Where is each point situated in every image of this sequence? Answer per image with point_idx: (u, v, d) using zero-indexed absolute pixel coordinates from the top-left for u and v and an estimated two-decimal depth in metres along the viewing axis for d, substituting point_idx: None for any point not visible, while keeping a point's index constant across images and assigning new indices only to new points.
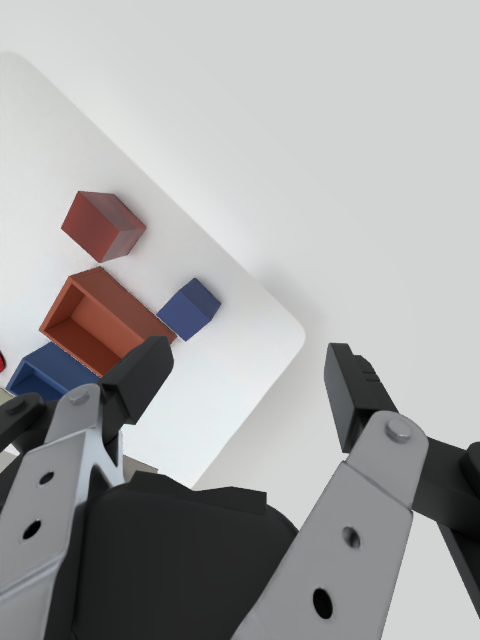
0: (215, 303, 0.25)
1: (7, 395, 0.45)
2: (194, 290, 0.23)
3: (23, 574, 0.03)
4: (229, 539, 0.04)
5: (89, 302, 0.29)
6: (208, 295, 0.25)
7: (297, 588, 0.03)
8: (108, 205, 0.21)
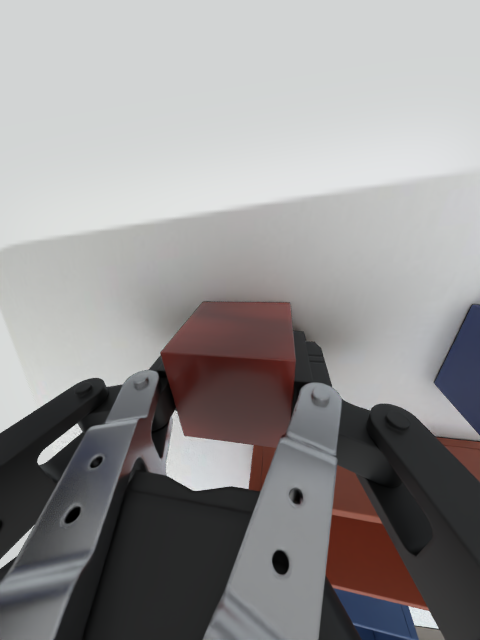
0: None
1: None
2: None
3: (53, 565, 0.03)
4: (229, 539, 0.04)
5: None
6: None
7: (297, 588, 0.03)
8: (218, 325, 0.09)
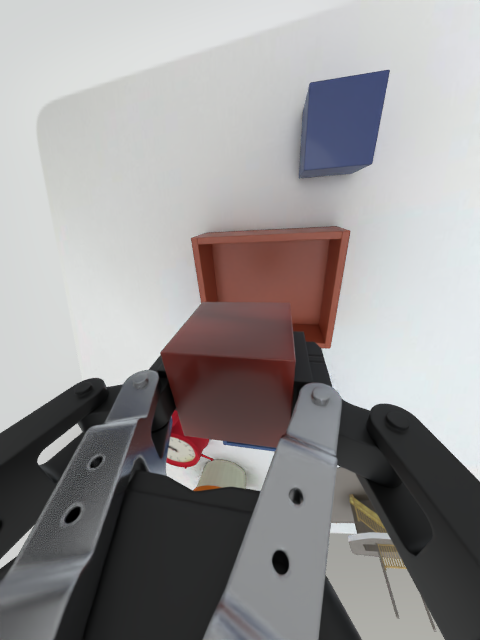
0: None
1: (228, 462, 0.42)
2: None
3: (53, 565, 0.03)
4: (229, 539, 0.04)
5: (224, 285, 0.24)
6: None
7: (297, 588, 0.03)
8: (218, 325, 0.09)
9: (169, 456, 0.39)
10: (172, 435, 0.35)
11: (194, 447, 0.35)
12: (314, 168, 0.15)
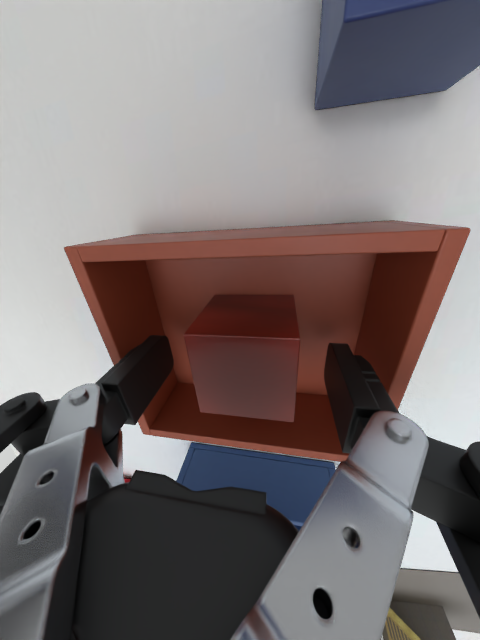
0: None
1: None
2: None
3: (23, 574, 0.03)
4: (229, 539, 0.04)
5: (176, 327, 0.14)
6: None
7: (297, 588, 0.03)
8: (231, 313, 0.10)
9: None
10: None
11: None
12: (382, 8, 0.04)
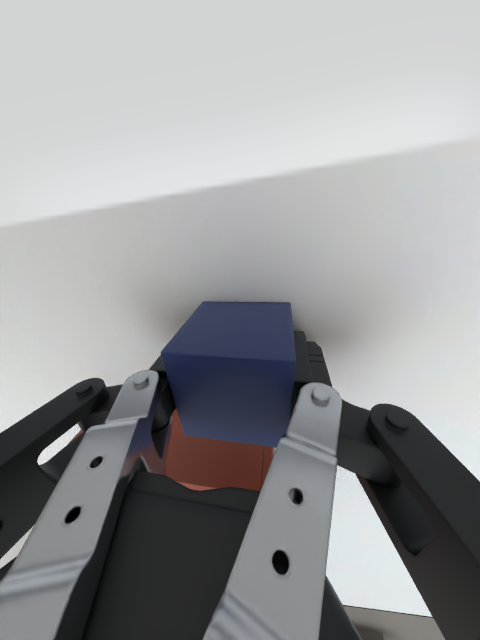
0: (276, 310, 0.09)
1: None
2: (207, 324, 0.09)
3: (53, 565, 0.03)
4: (229, 539, 0.04)
5: None
6: (250, 309, 0.10)
7: (297, 588, 0.03)
8: None
9: None
10: None
11: None
12: (199, 436, 0.09)
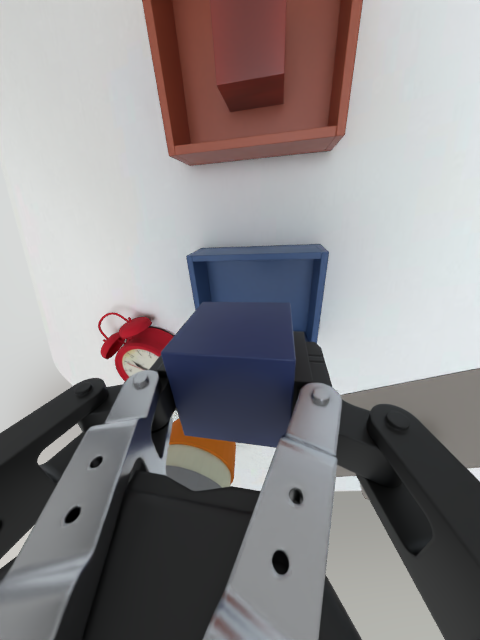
0: (276, 310, 0.09)
1: None
2: (207, 324, 0.09)
3: (53, 565, 0.03)
4: (229, 539, 0.04)
5: (193, 81, 0.17)
6: (250, 309, 0.10)
7: (297, 588, 0.03)
8: None
9: None
10: (140, 345, 0.28)
11: None
12: (199, 436, 0.09)
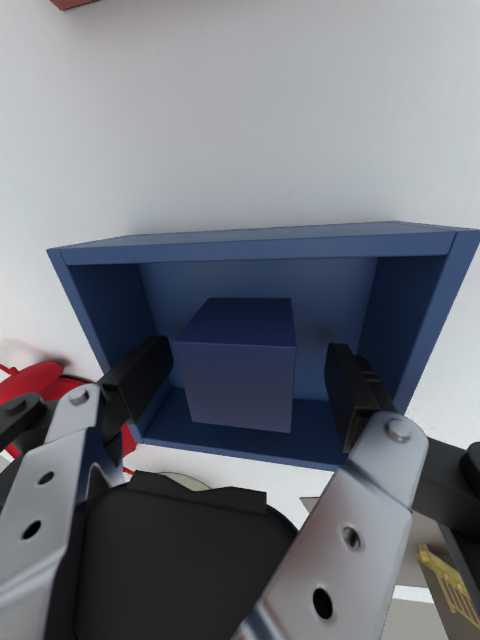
0: (278, 305, 0.10)
1: (183, 478, 0.22)
2: (214, 317, 0.09)
3: (23, 574, 0.03)
4: (229, 539, 0.04)
5: None
6: (253, 303, 0.10)
7: (297, 588, 0.03)
8: None
9: None
10: None
11: None
12: (206, 422, 0.10)
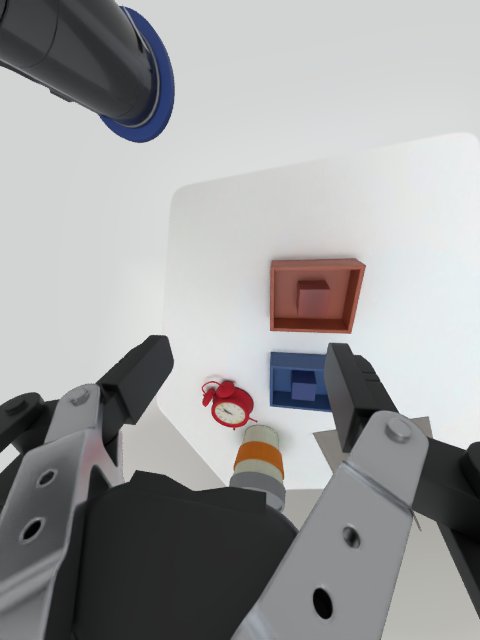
0: (311, 371, 0.43)
1: (265, 427, 0.55)
2: (297, 375, 0.42)
3: (23, 575, 0.03)
4: (229, 539, 0.04)
5: (280, 293, 0.37)
6: (304, 371, 0.43)
7: (297, 588, 0.03)
8: (308, 285, 0.33)
9: (224, 419, 0.52)
10: (230, 401, 0.48)
11: (246, 410, 0.48)
12: None
